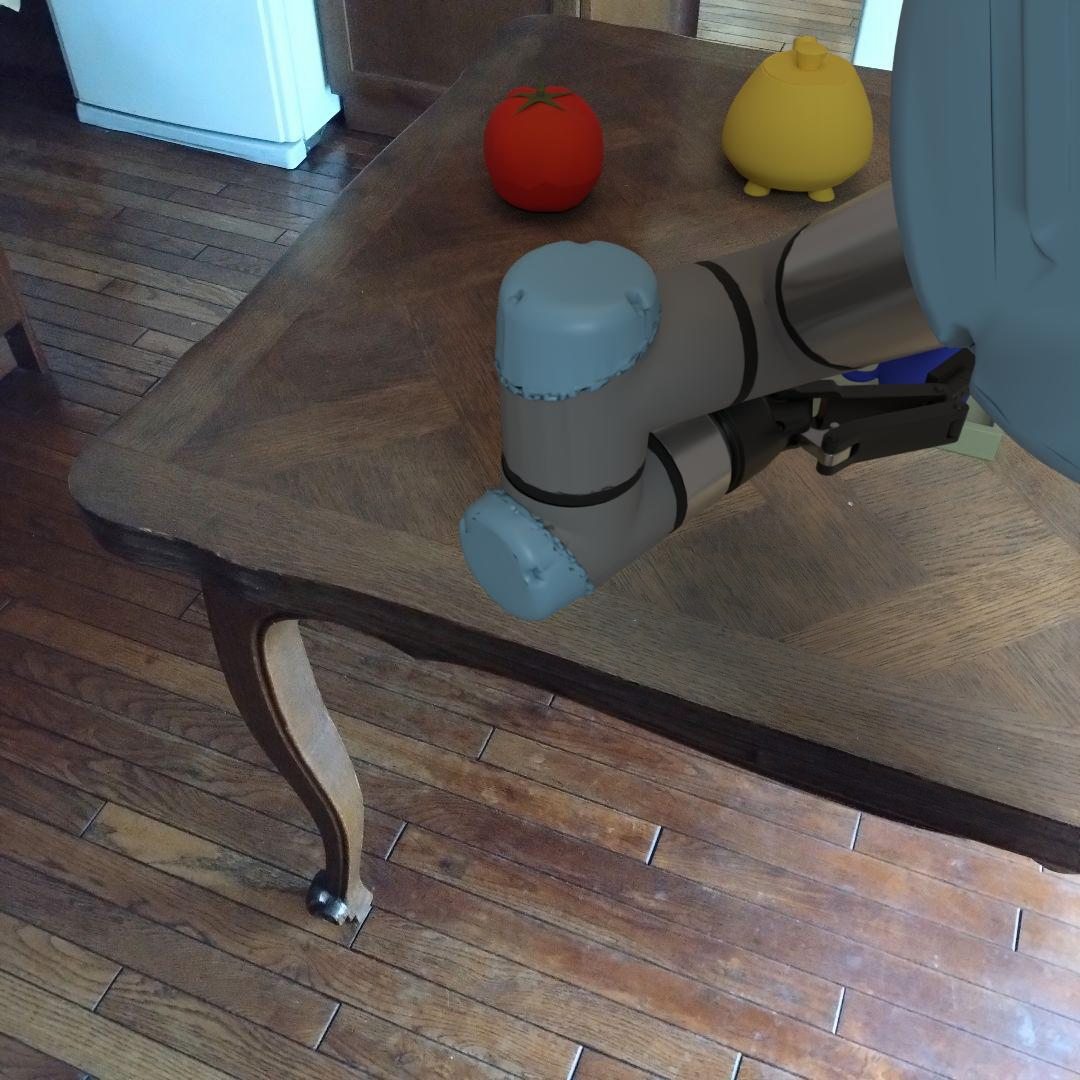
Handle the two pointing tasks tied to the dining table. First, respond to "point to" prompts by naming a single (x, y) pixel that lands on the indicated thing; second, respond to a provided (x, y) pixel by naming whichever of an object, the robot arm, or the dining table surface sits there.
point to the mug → (905, 368)
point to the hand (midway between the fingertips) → (896, 309)
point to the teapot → (799, 123)
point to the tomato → (543, 148)
